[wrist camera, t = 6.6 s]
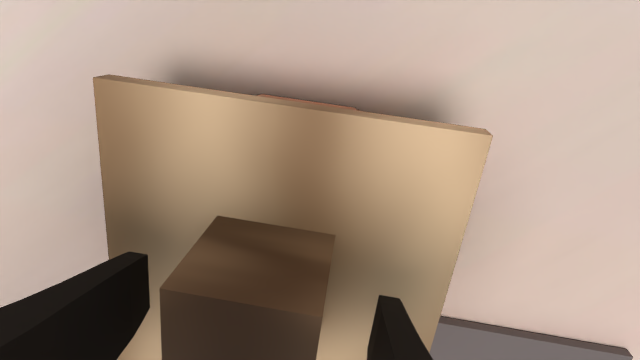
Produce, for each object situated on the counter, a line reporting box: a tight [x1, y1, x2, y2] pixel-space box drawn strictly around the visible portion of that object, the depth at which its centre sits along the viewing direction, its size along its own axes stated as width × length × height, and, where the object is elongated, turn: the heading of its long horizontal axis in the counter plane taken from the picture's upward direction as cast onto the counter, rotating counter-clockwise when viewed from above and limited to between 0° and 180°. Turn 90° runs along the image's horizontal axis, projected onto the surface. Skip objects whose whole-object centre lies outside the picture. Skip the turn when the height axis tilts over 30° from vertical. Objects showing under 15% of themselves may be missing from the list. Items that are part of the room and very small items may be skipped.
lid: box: [93, 75, 493, 360], centre depth 13 cm, size 12×12×5 cm
